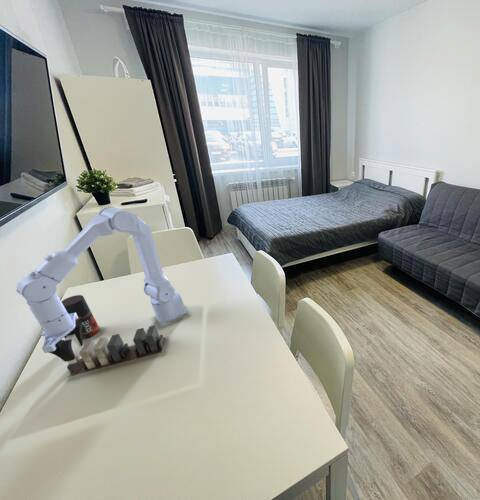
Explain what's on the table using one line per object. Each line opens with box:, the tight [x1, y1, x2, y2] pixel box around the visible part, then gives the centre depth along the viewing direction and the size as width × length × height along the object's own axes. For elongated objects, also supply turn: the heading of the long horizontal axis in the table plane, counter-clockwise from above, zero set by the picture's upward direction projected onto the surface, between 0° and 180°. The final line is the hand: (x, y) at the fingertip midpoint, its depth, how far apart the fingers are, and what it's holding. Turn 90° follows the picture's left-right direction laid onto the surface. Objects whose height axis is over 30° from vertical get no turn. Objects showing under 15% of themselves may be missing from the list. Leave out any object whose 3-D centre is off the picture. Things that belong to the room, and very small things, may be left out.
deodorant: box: [61, 294, 101, 341], centre depth 91 cm, size 6×6×15 cm
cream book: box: [63, 334, 83, 364], centre depth 78 cm, size 2×5×6 cm, turn 21°
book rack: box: [66, 324, 166, 378], centre depth 83 cm, size 24×7×8 cm, turn 112°
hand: (74, 352), depth 79 cm, fingers closed on cream book, 5 cm apart
